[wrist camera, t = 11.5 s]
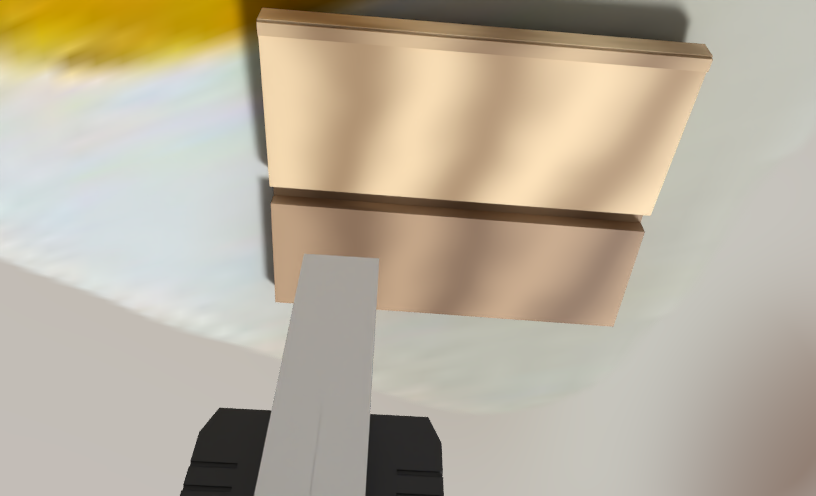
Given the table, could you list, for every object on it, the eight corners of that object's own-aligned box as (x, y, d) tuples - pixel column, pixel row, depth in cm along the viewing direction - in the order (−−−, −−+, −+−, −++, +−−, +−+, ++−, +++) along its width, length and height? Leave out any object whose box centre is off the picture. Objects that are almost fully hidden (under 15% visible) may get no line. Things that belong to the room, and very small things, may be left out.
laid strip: (279, 289, 41) (275, 302, 40) (274, 180, 37) (270, 192, 36) (608, 313, 42) (613, 326, 41) (642, 209, 37) (648, 221, 36)
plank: (273, 173, 37) (269, 188, 36) (262, 7, 31) (256, 19, 30) (645, 201, 37) (651, 217, 36) (704, 44, 31) (713, 57, 30)
